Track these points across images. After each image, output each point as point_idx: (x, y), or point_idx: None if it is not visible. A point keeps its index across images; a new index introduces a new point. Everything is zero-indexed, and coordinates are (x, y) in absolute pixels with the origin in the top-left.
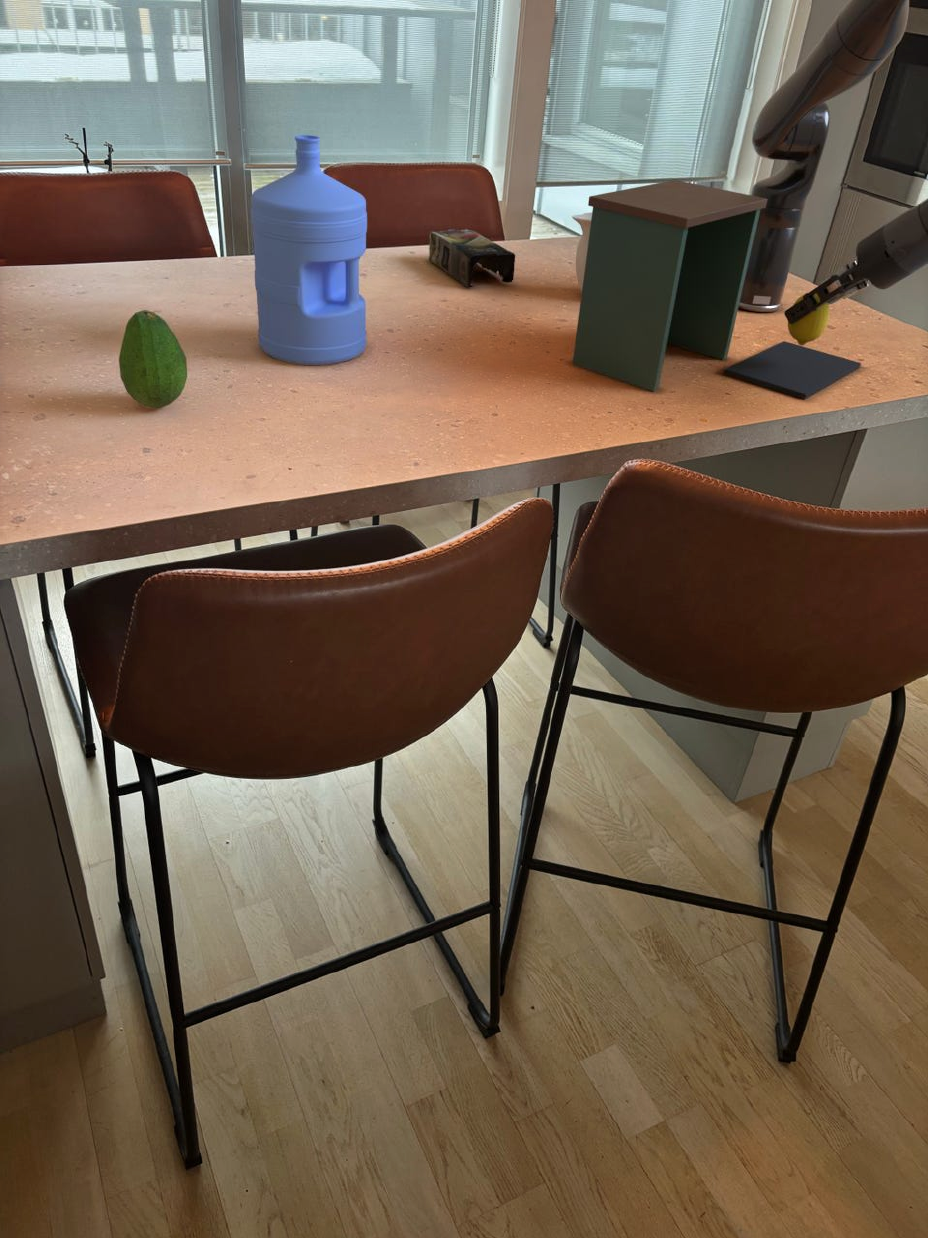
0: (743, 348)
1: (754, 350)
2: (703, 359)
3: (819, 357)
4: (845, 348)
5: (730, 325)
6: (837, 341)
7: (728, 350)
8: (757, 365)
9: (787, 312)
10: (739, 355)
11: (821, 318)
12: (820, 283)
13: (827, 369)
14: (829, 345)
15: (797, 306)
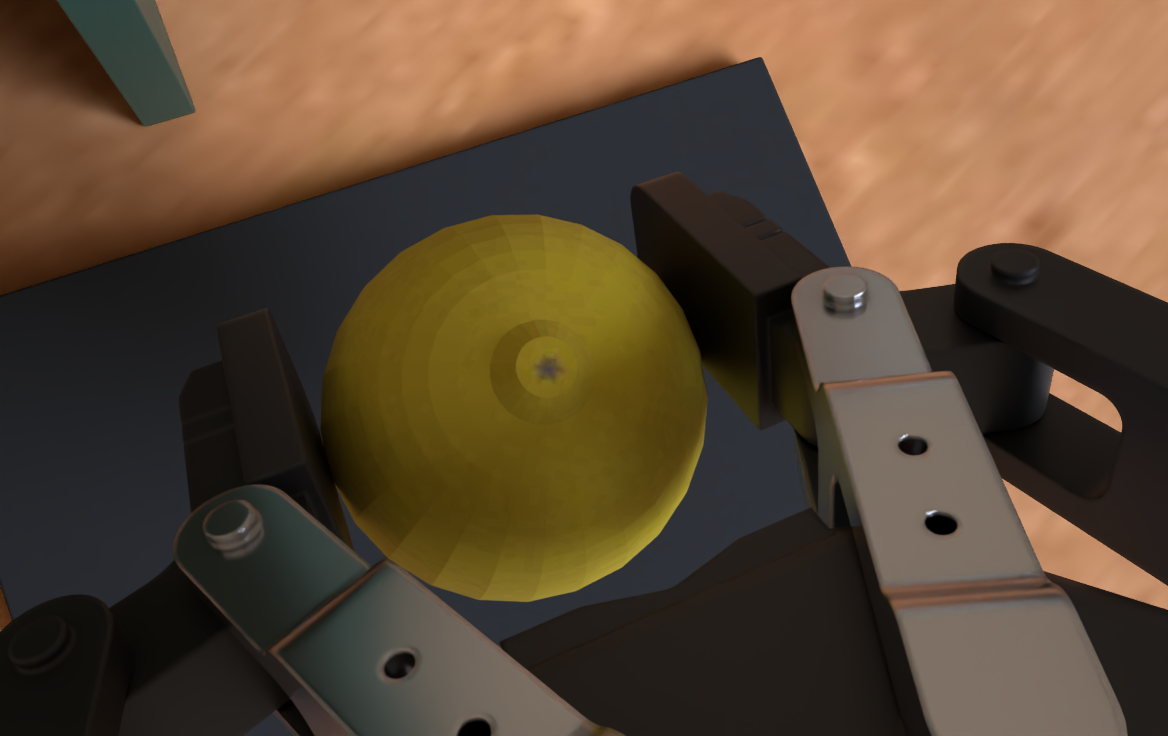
0: (459, 12)
1: (505, 65)
2: (17, 65)
3: None
4: (1104, 245)
5: (57, 1)
6: (1138, 137)
7: (179, 89)
8: (216, 351)
9: (187, 386)
10: (333, 98)
11: (499, 597)
12: (274, 661)
13: (656, 572)
14: (1044, 171)
15: (190, 475)
